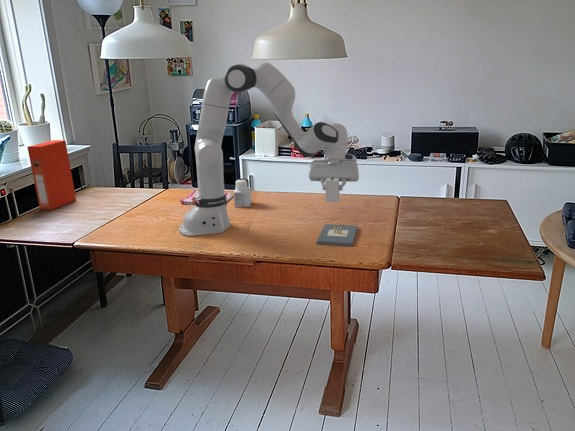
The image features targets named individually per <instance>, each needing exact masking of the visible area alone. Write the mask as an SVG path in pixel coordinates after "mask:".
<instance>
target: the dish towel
mask: <svg viewBox="0 0 575 431" xmlns="http://www.w3.org/2000/svg"><path fill="white" fill-rule="evenodd" d="M225 194H226V200H227V202H228V201H230V200H231V199H232V198H234V193H231V192H225ZM198 196H199V190H194V189H193V190H191V192H190V193H189V195H187V196H186V197H182V198H181V199H180V200H179V202H180V203H181V205H189V206H193V205H194V206H195V202H193V201H192V197H196V198H197V197H198Z"/></svg>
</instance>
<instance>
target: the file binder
mask: <svg viewBox="0 0 575 431" xmlns="http://www.w3.org/2000/svg"><path fill="white" fill-rule="evenodd" d="M26 148H27V152H28V153H27V154H28V157H29V162H30V167H31V171H32V177H33V181H34V187H35V192H36V195H37V196H36V197H37V201H38V206H39V209H40V210H45V211H53V210H55V209H58V208H61V207H63V206H65V205H68V204H71V203H72V202H75V201H77V196H76V190H75V186H74V185H75V184H74V180H73V174H72V169H71V163H70V157H69V154H68V153H69V152H68V148H67V142H66V140H64V139H63V140H60V139H58V140H57V139H52V140H49V141H45V142H42V143H37V144H33V145H29V146H27V147H26Z"/></svg>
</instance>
